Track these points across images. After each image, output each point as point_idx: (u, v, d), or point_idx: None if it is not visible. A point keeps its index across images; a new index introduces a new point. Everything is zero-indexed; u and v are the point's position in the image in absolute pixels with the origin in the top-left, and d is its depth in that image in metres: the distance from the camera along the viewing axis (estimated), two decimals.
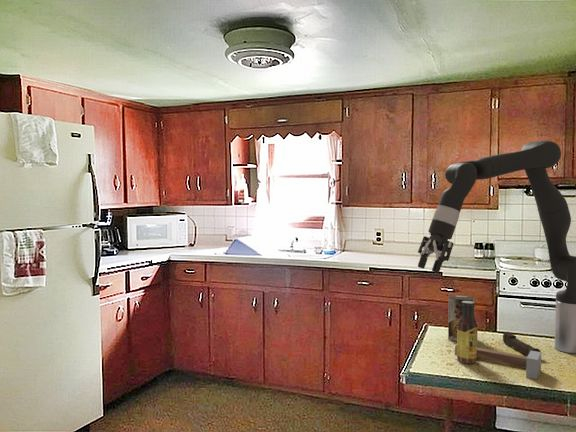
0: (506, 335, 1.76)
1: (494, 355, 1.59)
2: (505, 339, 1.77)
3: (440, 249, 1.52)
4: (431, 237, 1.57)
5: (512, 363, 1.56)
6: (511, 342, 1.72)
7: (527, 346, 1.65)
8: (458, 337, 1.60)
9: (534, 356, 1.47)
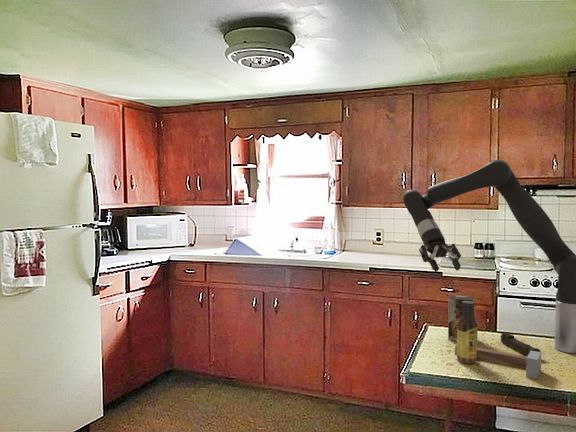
0: (505, 335, 1.76)
1: (494, 355, 1.59)
2: (503, 339, 1.77)
3: (433, 253, 1.73)
4: None
5: (512, 363, 1.56)
6: (510, 342, 1.72)
7: (527, 346, 1.65)
8: (458, 337, 1.60)
9: (534, 356, 1.47)
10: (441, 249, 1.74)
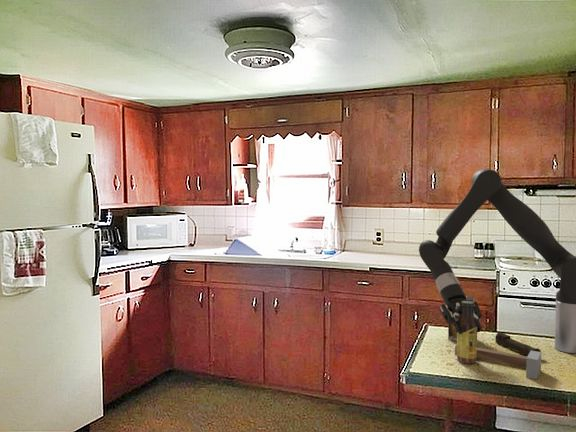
0: (501, 336, 1.75)
1: (494, 355, 1.59)
2: (499, 340, 1.76)
3: (454, 312, 1.62)
4: None
5: (512, 363, 1.56)
6: (507, 343, 1.72)
7: (526, 346, 1.65)
8: (458, 337, 1.60)
9: (534, 356, 1.47)
10: (461, 306, 1.63)
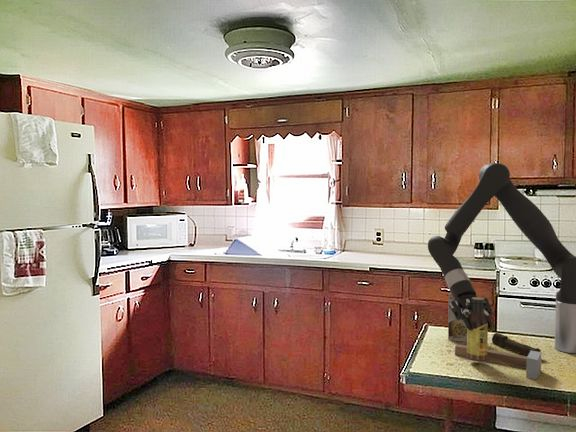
0: (498, 337, 1.75)
1: (494, 355, 1.59)
2: (496, 340, 1.75)
3: (464, 308, 1.61)
4: None
5: (512, 363, 1.56)
6: (506, 344, 1.71)
7: (526, 346, 1.64)
8: (468, 334, 1.58)
9: (534, 356, 1.47)
10: None
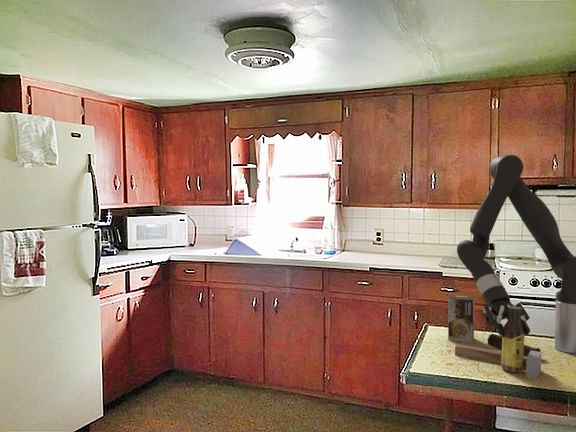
0: (495, 338, 1.73)
1: (494, 355, 1.59)
2: (493, 341, 1.74)
3: (497, 314, 1.55)
4: None
5: None
6: None
7: (526, 347, 1.64)
8: (503, 344, 1.52)
9: (534, 356, 1.47)
10: (507, 310, 1.55)
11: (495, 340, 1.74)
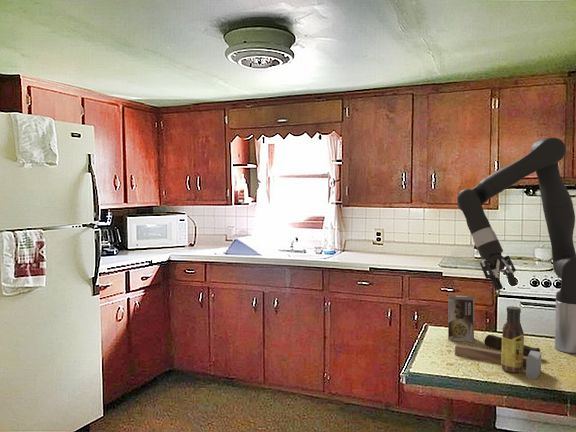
0: (493, 338, 1.72)
1: (494, 355, 1.59)
2: (491, 342, 1.73)
3: (493, 268, 1.63)
4: None
5: None
6: None
7: (526, 347, 1.64)
8: (503, 344, 1.52)
9: (534, 356, 1.47)
10: (500, 263, 1.64)
11: (493, 341, 1.72)
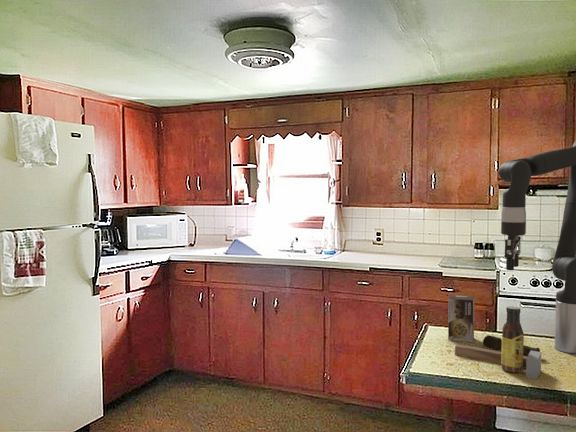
0: (492, 339, 1.72)
1: (494, 355, 1.59)
2: (490, 343, 1.73)
3: None
4: None
5: None
6: None
7: (526, 347, 1.64)
8: (503, 344, 1.52)
9: (534, 356, 1.47)
10: None
11: (492, 342, 1.72)
